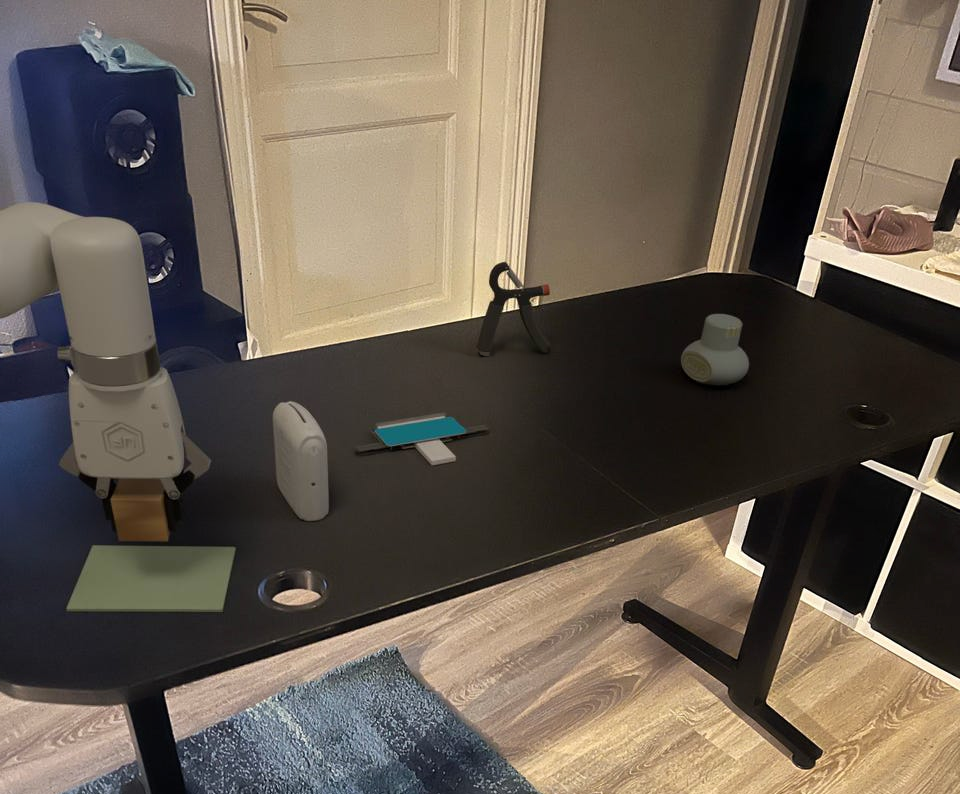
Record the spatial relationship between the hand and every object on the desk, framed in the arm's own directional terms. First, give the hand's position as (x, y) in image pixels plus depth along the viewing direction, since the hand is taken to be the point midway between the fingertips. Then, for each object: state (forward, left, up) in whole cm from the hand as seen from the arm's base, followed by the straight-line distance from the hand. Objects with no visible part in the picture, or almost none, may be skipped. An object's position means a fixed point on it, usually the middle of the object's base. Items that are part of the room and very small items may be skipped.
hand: (147, 523), depth 103 cm
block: (0, 0, -1) cm, 1 cm away
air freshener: (+79, +58, -7) cm, 98 cm away
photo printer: (+15, +17, -7) cm, 24 cm away
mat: (0, 0, -7) cm, 7 cm away
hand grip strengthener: (+47, +66, -7) cm, 81 cm away
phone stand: (+31, +33, -7) cm, 46 cm away
